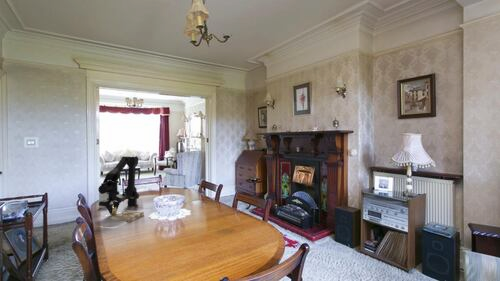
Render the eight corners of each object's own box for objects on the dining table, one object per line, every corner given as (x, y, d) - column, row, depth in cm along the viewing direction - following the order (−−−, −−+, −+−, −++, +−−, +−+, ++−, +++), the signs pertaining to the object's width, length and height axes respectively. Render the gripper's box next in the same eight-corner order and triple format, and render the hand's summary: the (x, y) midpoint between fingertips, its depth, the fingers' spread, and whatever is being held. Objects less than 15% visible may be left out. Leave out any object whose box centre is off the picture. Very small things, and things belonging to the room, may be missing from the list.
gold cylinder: (113, 213, 174) (113, 206, 174) (118, 213, 173) (117, 206, 173) (108, 214, 170) (108, 207, 170) (113, 215, 169) (113, 208, 169)
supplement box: (108, 207, 190) (108, 191, 190) (98, 208, 190) (98, 191, 190) (113, 205, 197) (113, 189, 197) (104, 205, 197) (104, 189, 197)
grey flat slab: (114, 213, 177) (114, 211, 177) (122, 213, 175) (122, 212, 175) (103, 217, 168) (103, 215, 168) (112, 217, 166) (112, 216, 166)
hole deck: (127, 213, 174) (127, 210, 174) (144, 215, 171) (143, 211, 171) (111, 220, 161) (111, 216, 161) (129, 222, 157) (129, 217, 157)
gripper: (111, 194, 160) (112, 218, 160) (132, 188, 178) (132, 209, 178) (97, 193, 163) (98, 216, 163) (119, 187, 181) (120, 208, 181)
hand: (113, 212), depth 171 cm, fingers closed on gold cylinder, 4 cm apart
